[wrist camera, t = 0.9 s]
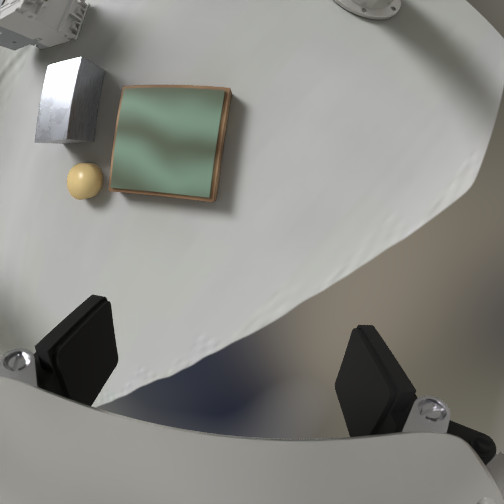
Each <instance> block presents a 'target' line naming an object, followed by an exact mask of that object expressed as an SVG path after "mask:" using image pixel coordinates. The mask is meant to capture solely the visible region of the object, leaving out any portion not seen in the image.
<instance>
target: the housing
mask: <svg viewBox="0 0 504 504" xmlns="http://www.w3.org/2000/svg"><path fill="white" fill-rule="evenodd" d="M104 74H105V70H104V69H102V68H100V67H99V66H97V65H95V64H93V63H92V62H90V61H88V60H86V59H84V58H83V57H78V58H74V59H70V60H66V61H62V62H58V63H55V64H51V65H48V68H47V72H46V76H45V81H44V85H43V90H42V95H41V101H40V106H39V113H38V119H37V127H36V135H35V142H37V143H59V144H66V143H81V142H94V136H95V127H96V120H97V113H98V106H99V100H100V94H101V89H102V84H103V79H104Z"/></svg>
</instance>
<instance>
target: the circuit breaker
mask: <svg viewBox="0 0 504 504" xmlns="http://www.w3.org/2000/svg"><path fill="white" fill-rule="evenodd" d="M88 7H89V3H88V4H86V3H85V0H80V1H77V0H0V46H3V47H6V48H9V49H12V50H17V49H19V48H22V47H24V46H27V45H29V44H31V45H33V46H34V45H35V44H36V45H37V46H36V47H38V48H40V49H45V48H48V47H52V46H55V45H58V44H62V43H65V42H69V41H71V39H73V38H74V40H76V39H77V37H78V34H79V31H80V28H81V25H82V23H83V20H84V17H85V14H86V12H87V9H88ZM83 12H84V13H83ZM82 13H83V15H82ZM77 27H78V29H77ZM73 33H76V34H73Z"/></svg>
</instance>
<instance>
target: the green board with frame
mask: <svg viewBox="0 0 504 504" xmlns="http://www.w3.org/2000/svg"><path fill="white" fill-rule="evenodd" d="M231 96H232V92H231V89H230V88H225V87H212V86H193V85H134V86H123V89H122V94H121V99H120V104H119V109H118V115H117V121H116V128H115V135H114V142H113V150H112V158H111V168H110V179H109V191H113V192H124V193H135V194H146V195H155V196H165V197H174V198H183V199H192V200H200V201H208V202H214V201H216V198H217V190H218V183H219V175H220V168H221V161H222V153H223V147H224V140H225V133H226V127H227V120H228V114H229V108H230V102H231Z"/></svg>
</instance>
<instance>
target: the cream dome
mask: <svg viewBox="0 0 504 504" xmlns="http://www.w3.org/2000/svg"><path fill="white" fill-rule="evenodd" d="M102 185H103V174H102V171H101V170H100V168H99V167H98V166H97V165H96V164H93V163H79V164H77V165H75V166H74V167H73V168H72V169H71V170H70V172H69V174H68V178H67V187H68V190H69V192H70V194H71V195H72V196H73V197H74V198H76V199H79V200H81V199H86V198H91V197H94V196H96V195H97V194H98V193H99V192H100V190H101V188H102Z"/></svg>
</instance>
